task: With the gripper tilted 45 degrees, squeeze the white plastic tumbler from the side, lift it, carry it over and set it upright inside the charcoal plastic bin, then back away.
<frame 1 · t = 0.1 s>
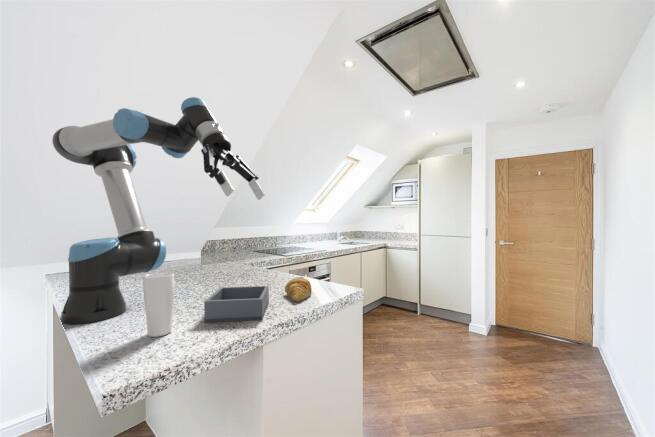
hand: (247, 195, 78), 36 cm above the counter, tool tilted 35°, fingers open, 13 cm apart
croissant: (298, 296, 104), on the counter
white plastic tumbler: (159, 334, 70), on the counter
bin: (239, 311, 85), on the counter
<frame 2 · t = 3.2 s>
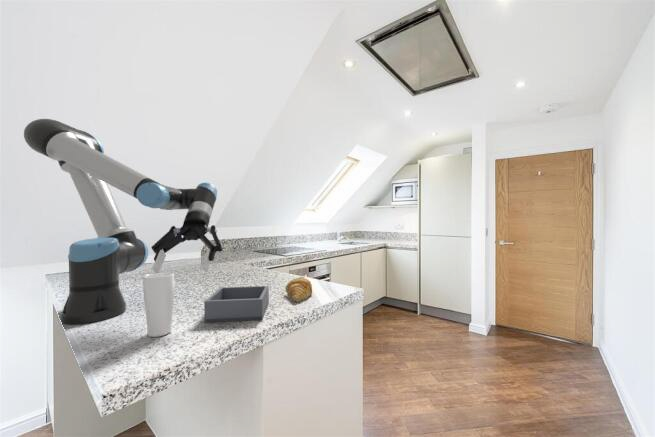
hand: (180, 270, 79), 15 cm above the counter, tool tilted 45°, fingers open, 13 cm apart
nothing on the counter moved.
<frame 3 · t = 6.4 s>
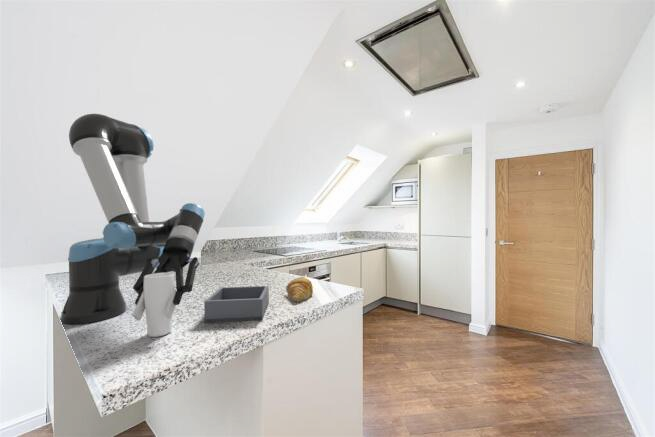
hand: (152, 317, 66), 5 cm above the counter, tool tilted 45°, fingers closed on white plastic tumbler, 6 cm apart
white plastic tumbler: (159, 334, 70), on the counter, touching gripper
everything else where it was.
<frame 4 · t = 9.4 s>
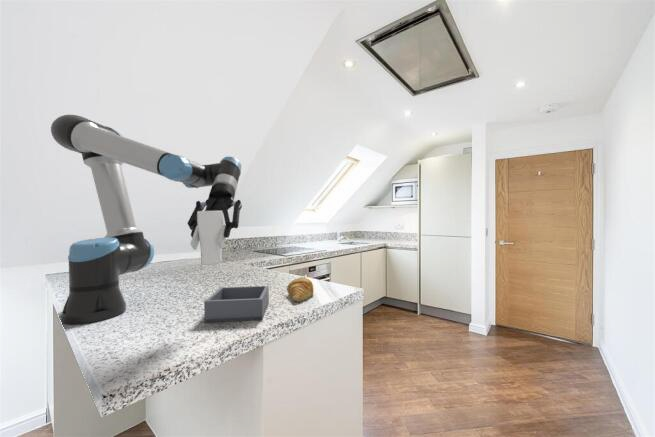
hand: (206, 246, 74), 22 cm above the counter, tool tilted 45°, fingers closed on white plastic tumbler, 6 cm apart
white plastic tumbler: (212, 264, 78), point 16 cm above the counter, touching gripper
everything else where it was.
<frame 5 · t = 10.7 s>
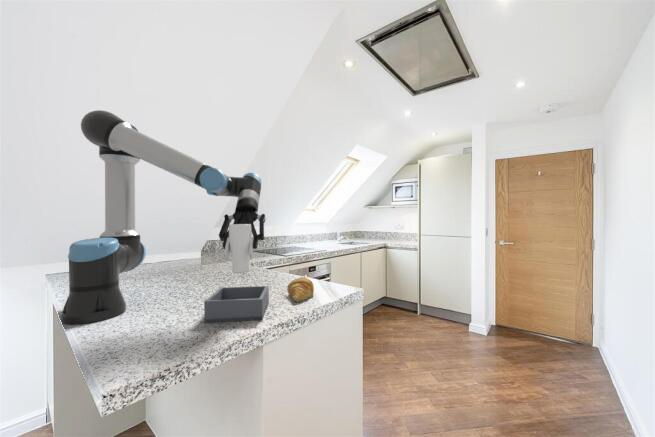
hand: (238, 256, 82), 18 cm above the counter, tool tilted 45°, fingers closed on white plastic tumbler, 6 cm apart
white plastic tumbler: (241, 272, 86), point 12 cm above the counter, touching gripper
when the fingers open (8 cm above the counter, at t = 12.7 s): white plastic tumbler drops 1 cm, resting on bin.
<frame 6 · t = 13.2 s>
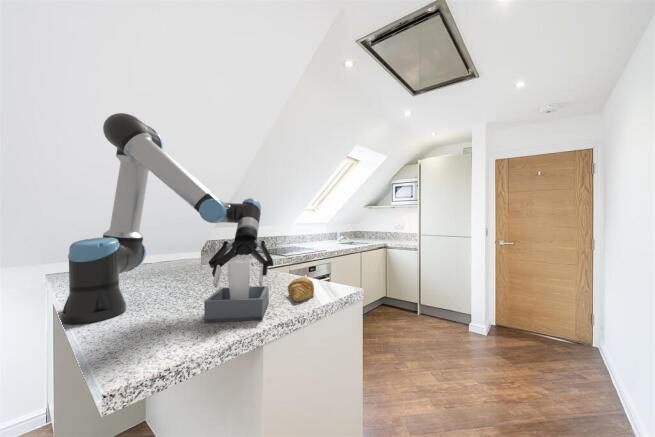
hand: (237, 284, 83), 9 cm above the counter, tool tilted 45°, fingers open, 13 cm apart
white plastic tumbler: (239, 309, 85), point 1 cm above the counter, touching bin
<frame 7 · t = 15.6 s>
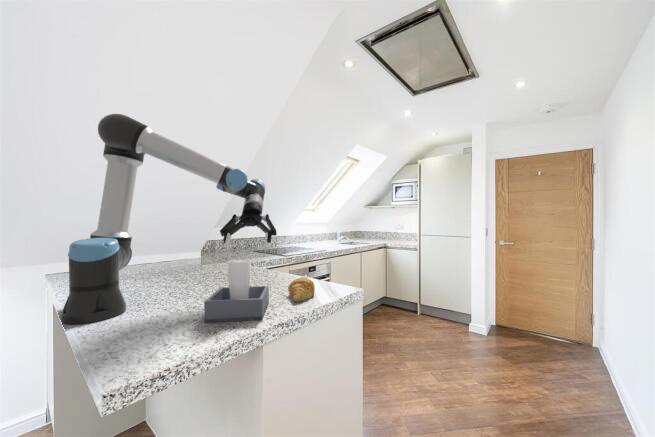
hand: (245, 249, 96), 19 cm above the counter, tool tilted 45°, fingers open, 13 cm apart
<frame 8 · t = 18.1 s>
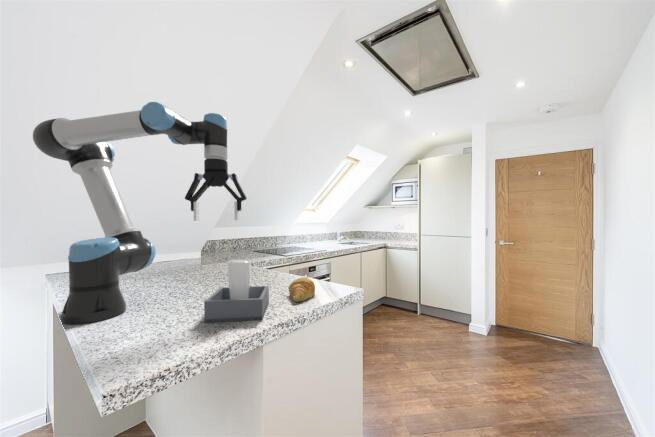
hand: (216, 220, 95), 29 cm above the counter, tool pointing down, fingers open, 13 cm apart
at the end: white plastic tumbler inside the target area on the bin (0.1 cm from its centre), point 0.8 cm above the bin's base; white plastic tumbler tilted 0°; the gripper is holding nothing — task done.
